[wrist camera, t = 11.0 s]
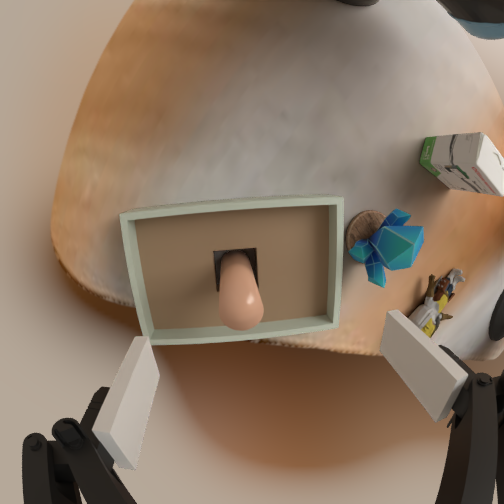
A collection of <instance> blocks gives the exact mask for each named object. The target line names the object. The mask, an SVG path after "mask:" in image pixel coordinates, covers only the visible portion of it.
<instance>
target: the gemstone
mask: <svg viewBox="0 0 504 504" xmlns="http://www.w3.org/2000/svg"><path fill="white" fill-rule="evenodd" d="M410 217H411V215H410V214H408V213H405V212H403V211H401V210H399V209H397V208H396V209H395V210H394V211H393V212H391V213H390V214H389V215H388V216H387V217H386V216H385V215H383V214H382V213H380V212H378V211H373V210H368V211H364V212H361V213H360V214H358V215H357V216H356V217H355V218H354V219H353V220H352V221H351V223H350V224H349V227H348V229H347V233H346V245H347V248H348V253H349V254H350V255H351V256H352V257H353V259H354V260H356V261H358V262H361V263H365V267H366V271H367V274H368V281H370V282H372V283H374V284H376V285H378V286H381V287H383V288H384V287H385V283H386V278H385V272H384V267H383V266H385V267H386V268H388V269H390V270H391V271H393V270H399V269H405V268H410V267H411V266H412V264H413V262H414V260H415V258H416V256H417V254H418V252H419V250H420V248H421V246H422V244H423V242H424V231H423V226H403V225H404V223H406V222H407V221H408V220H409V218H410Z"/></svg>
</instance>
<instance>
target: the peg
mask: <svg viewBox="0 0 504 504" xmlns="http://www.w3.org/2000/svg"><path fill="white" fill-rule="evenodd" d="M263 313H264V308H263V304H262V300H261V297H260V294H259V290H258V287H257V284H256V281H255V277H254V274H253V271H252V267H251V264H250V261H249V258H248V256H247V255H246V254H245V253H244V252H243V251H240V250H231V251H228V252H227V253H225V254H224V256H223V257H222V259H221V269H220V292H219V316H220V319H221V321H222V322H223V323H224V324H225V325H226V326H227V327H229V328H231V329H233V330H238V331H244V330H248V329H251V328H253V327H255V326H256V325H257V324H258V323H259V322H260V321H261V319H262V317H263Z"/></svg>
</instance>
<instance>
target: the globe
mask: <svg viewBox="0 0 504 504" xmlns="http://www.w3.org/2000/svg"><path fill="white" fill-rule="evenodd" d="M489 336H490V339H491V340H496V341H498V340H500V339H502V338H503V337H504V290H503V292H502V294H501V295H500V297H499V299H498V301H497V304H496V306H495V309H494V311H493V314H492V317H491V321H490V326H489Z"/></svg>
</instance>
